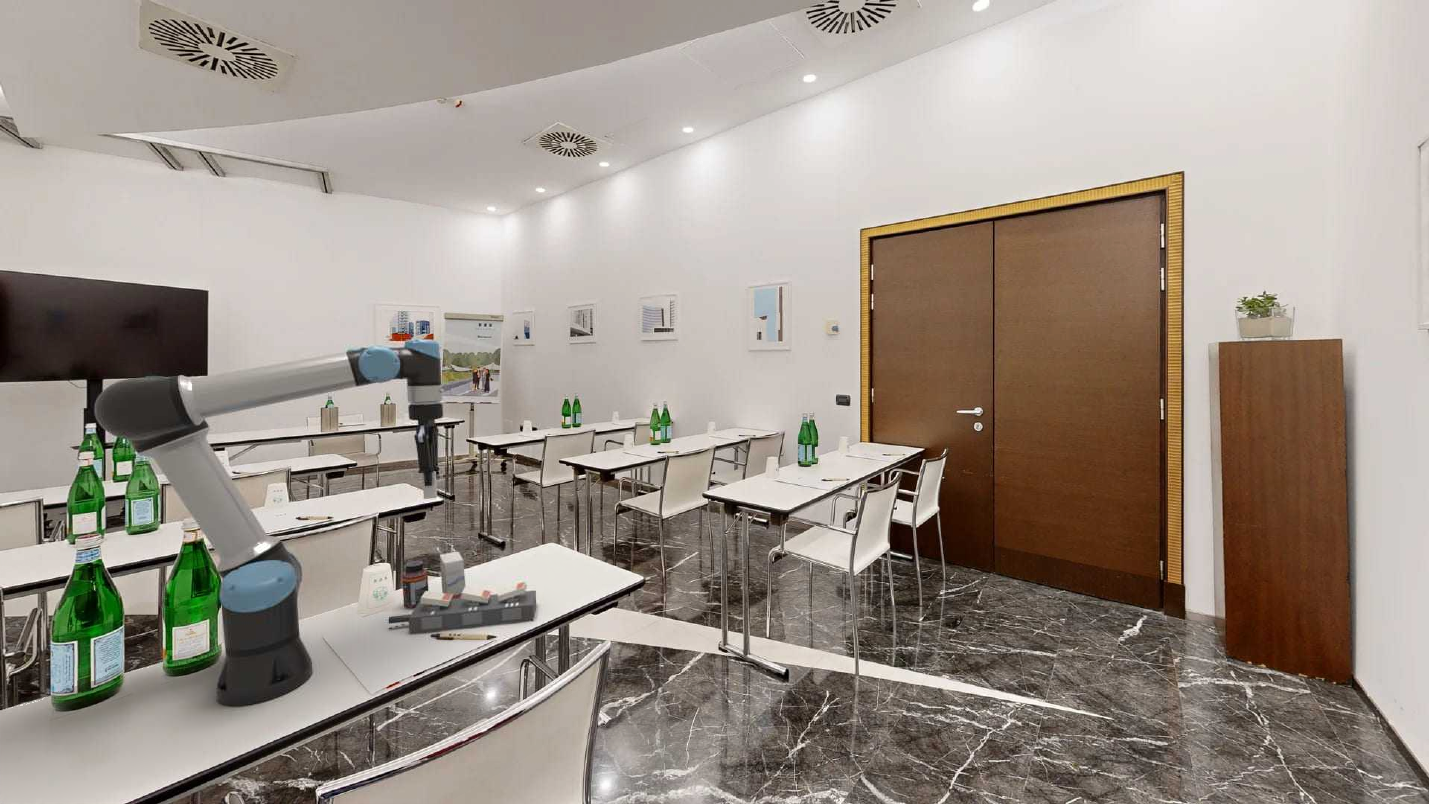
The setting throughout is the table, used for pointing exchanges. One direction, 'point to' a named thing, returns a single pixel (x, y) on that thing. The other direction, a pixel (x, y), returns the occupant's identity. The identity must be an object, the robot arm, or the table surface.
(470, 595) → the rocker
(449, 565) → the ink box
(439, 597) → the rocker
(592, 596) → the table surface
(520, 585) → the rocker
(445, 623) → the rocker switch strip
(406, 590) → the supplement bottle
